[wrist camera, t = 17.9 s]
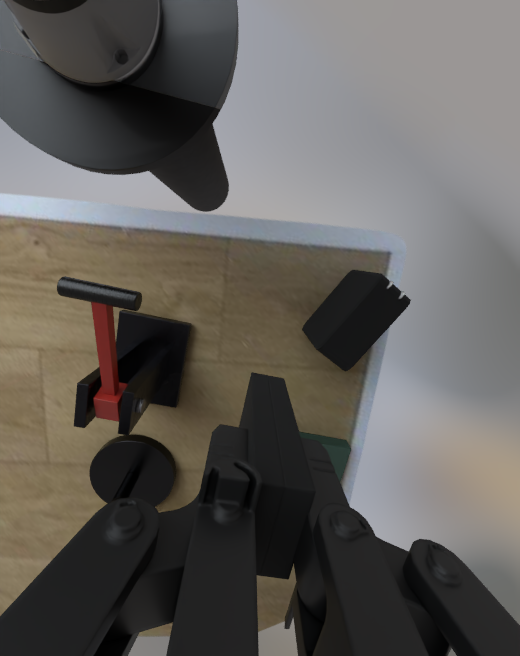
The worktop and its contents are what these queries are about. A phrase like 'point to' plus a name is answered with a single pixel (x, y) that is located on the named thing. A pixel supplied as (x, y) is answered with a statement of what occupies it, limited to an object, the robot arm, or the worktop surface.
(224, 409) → the worktop surface
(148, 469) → the desk lamp
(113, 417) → the switch lever
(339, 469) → the timer box
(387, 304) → the electronic device
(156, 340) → the stand
